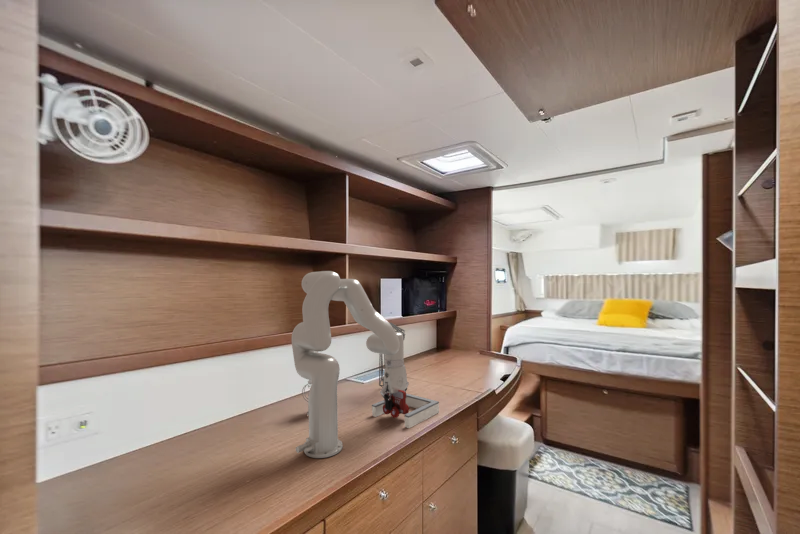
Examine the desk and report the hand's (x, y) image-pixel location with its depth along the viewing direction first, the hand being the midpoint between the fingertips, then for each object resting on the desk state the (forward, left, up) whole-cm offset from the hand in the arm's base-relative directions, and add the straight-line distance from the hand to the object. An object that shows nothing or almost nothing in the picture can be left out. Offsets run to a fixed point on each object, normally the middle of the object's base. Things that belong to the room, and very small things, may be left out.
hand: (395, 406), depth 141 cm
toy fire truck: (0, 0, -3) cm, 3 cm away
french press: (-16, +32, -5) cm, 36 cm away
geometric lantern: (+26, +26, -5) cm, 37 cm away
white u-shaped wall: (+6, 0, -5) cm, 8 cm away
